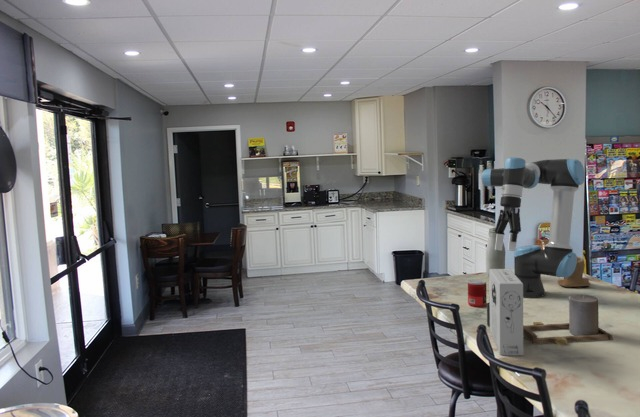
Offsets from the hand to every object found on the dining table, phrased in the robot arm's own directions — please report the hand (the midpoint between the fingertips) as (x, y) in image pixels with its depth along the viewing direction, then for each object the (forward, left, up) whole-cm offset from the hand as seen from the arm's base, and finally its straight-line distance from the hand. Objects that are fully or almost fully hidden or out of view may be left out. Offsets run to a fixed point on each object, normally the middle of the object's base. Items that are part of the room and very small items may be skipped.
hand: (504, 250), depth 195 cm
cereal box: (+16, +12, -30) cm, 36 cm away
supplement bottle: (+3, -2, -30) cm, 31 cm away
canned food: (-13, -25, -30) cm, 41 cm away
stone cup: (-73, -15, -30) cm, 80 cm away
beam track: (-8, +19, -30) cm, 37 cm away
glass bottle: (-57, -50, -30) cm, 81 cm away
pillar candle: (-14, +23, -30) cm, 41 cm away
